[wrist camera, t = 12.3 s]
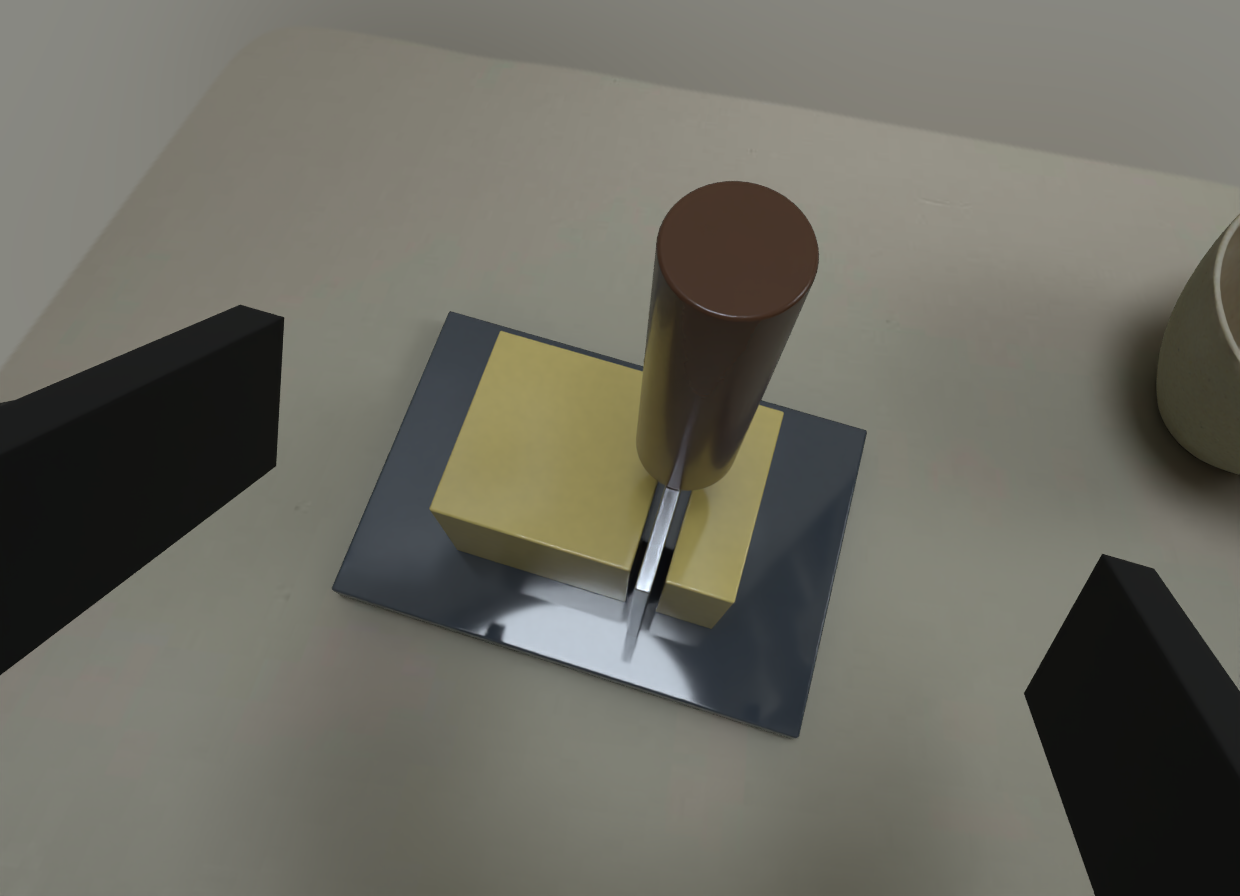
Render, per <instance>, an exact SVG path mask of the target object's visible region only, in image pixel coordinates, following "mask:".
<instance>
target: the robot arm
mask: <svg viewBox="0 0 1240 896" xmlns="http://www.w3.org/2000/svg"><path fill="white" fill-rule="evenodd" d="M283 330H284V317H281V316H277V315H274V314H271V313H267V312H264V311H260V310H257V309H253V308H250V307H246V306H243V305H238V306H236V307H234V308H231V309H229V310H227V311H224V312H222V313H220V314H217V315H215V316H212V317H210V318H208V319H205V320H203V321H201V322H198V323H196V324H194V325H191V326H189V327H187V328H184V329H182V330H179V331H177V332H175V333H172V334H170V335H168V336H165V337H163V338H161V339H158V340H156V341H154V342H151V343H149V344H146V345H144V346H142V347H139V348H137V349H135V350H132V351H130V352H128V353H125V354H123V355H120V356H118V357H116V358H113V359H111V360H109V361H106V362H104V363H102V364H99V365H97V366H95V367H92V368H90V369H87V370H85V371H83V372H80V373H78V374H76V375H73V376H71V377H69V378H66V379H64V380H62V381H59V382H57V383H54V384H52V385H50V386H47V387H45V388H43V389H40V390H38V391H36V392H33V393H31V394H28V395H26V396H24V397H21V398H19V399H17V400H13V401H8V402H3V403H0V675H1V674H2V673H4V672H5V671H6V670H8V669H9V668H10V667H12V666H13V665H14V664H16V663H17V662H18V661H20V660H21V659H22V658H24V657H25V656H26V655H28V654H29V653H30V652H31V651H33V650H34V649H35V648H37V647H38V646H39V645H41V644H42V643H43V642H45V641H46V640H47V639H49V638H50V637H51V636H53V635H54V634H55V633H57V632H58V631H59V630H60V629H62V628H63V627H64V626H66V625H67V624H68V623H70V622H71V621H72V620H74V619H75V618H76V617H78V616H79V615H80V614H82V613H83V612H84V611H86V610H87V609H88V608H89V607H91V606H92V605H93V604H95V603H96V602H97V601H99V600H100V599H101V598H103V597H104V596H105V595H107V594H108V593H109V592H111V591H112V590H113V589H115V588H116V587H117V586H118V585H120V584H121V583H122V582H124V581H125V580H126V579H128V578H129V577H130V576H132V575H133V574H134V573H136V572H137V571H138V570H140V569H141V568H142V567H144V566H145V565H146V564H147V563H149V562H150V561H151V560H153V559H154V558H155V557H157V556H158V555H159V554H161V553H162V552H163V551H165V550H166V549H167V548H169V547H170V546H171V545H173V544H174V543H175V542H177V541H178V540H179V539H180V538H182V537H183V536H184V535H186V534H187V533H188V532H190V531H191V530H192V529H194V528H195V527H196V526H198V525H199V524H200V523H202V522H203V521H204V520H206V519H207V518H208V517H209V516H211V515H212V514H213V513H215V512H216V511H217V510H219V509H220V508H221V507H223V506H224V505H225V504H227V503H228V502H229V501H231V500H232V499H233V498H235V497H236V496H237V495H238V494H240V493H241V492H242V491H244V490H245V489H246V488H248V487H249V486H250V485H252V484H253V483H254V482H256V481H257V480H258V479H260V478H261V477H262V476H264V475H265V474H266V473H267V472H269V471H270V470H271V469H273V468H274V467H275V466H276V458H277V440H278V421H279V403H280V385H281V367H282V349H283ZM1024 695H1025V698H1026V700H1027V703H1028V706H1029V709H1030V712H1031V715H1032V717H1033V720H1034V723H1035V726H1036V729H1037V732H1038V734H1039V737H1040V740H1041V743H1042V746H1043V749H1044V752H1045V754H1046V757H1047V760H1048V763H1049V766H1050V769H1051V771H1052V774H1053V777H1054V780H1055V783H1056V786H1057V788H1058V791H1059V794H1060V797H1061V800H1062V803H1063V806H1064V808H1065V811H1066V814H1067V817H1068V820H1069V823H1070V825H1071V828H1072V831H1073V834H1074V837H1075V840H1076V842H1077V845H1078V848H1079V851H1080V854H1081V857H1082V860H1083V862H1084V865H1085V868H1086V871H1087V874H1088V877H1089V879H1090V882H1091V885H1092V888H1093V891H1094V894H1095V896H1240V691H1239V690H1238V688H1237V687H1236V685H1235V684H1234V683H1233V681H1232V680H1231V678H1230V677H1229V675H1228V674H1227V673H1226V671H1225V670H1224V668H1223V667H1222V665H1221V664H1220V663H1219V661H1218V660H1217V658H1216V657H1215V655H1214V654H1213V652H1212V651H1211V650H1210V648H1209V647H1208V645H1207V644H1206V642H1205V641H1204V640H1203V638H1202V637H1201V635H1200V634H1199V632H1198V631H1197V630H1196V628H1195V627H1194V625H1193V624H1192V622H1191V621H1190V620H1189V618H1188V617H1187V615H1186V614H1185V612H1184V611H1183V609H1182V608H1181V607H1180V605H1179V604H1178V602H1177V601H1176V599H1175V598H1174V597H1173V595H1172V594H1171V592H1170V591H1169V589H1168V588H1167V587H1166V585H1165V584H1164V582H1163V581H1162V579H1161V578H1160V577H1159V575H1158V574H1157V572H1156V571H1155V569H1153V568H1150V567H1146V566H1143V565H1139V564H1136V563H1132V562H1129V561H1125V560H1122V559H1118V558H1115V557H1111V556H1108V555H1105V554H1102V555H1101V557H1100V559H1099V561H1098V562H1097V564H1096V566H1095V568H1094V569H1093V571H1092V573H1091V575H1090V577H1089V578H1088V580H1087V582H1086V584H1085V586H1084V587H1083V589H1082V591H1081V593H1080V594H1079V596H1078V598H1077V600H1076V602H1075V603H1074V605H1073V607H1072V609H1071V610H1070V612H1069V614H1068V616H1067V618H1066V619H1065V621H1064V623H1063V625H1062V627H1061V628H1060V630H1059V632H1058V634H1057V635H1056V637H1055V639H1054V641H1053V643H1052V644H1051V646H1050V648H1049V650H1048V651H1047V653H1046V655H1045V657H1044V659H1043V660H1042V662H1041V664H1040V666H1039V668H1038V669H1037V671H1036V673H1035V675H1034V676H1033V678H1032V680H1031V682H1030V684H1029V685H1028V687H1027V689H1026V691H1025V692H1024Z"/></svg>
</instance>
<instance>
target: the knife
mask: <svg viewBox="0 0 1240 896" xmlns="http://www.w3.org/2000/svg"><path fill="white" fill-rule="evenodd" d="M818 263H819V251H818V244H817V240H816V236H815V233H814V231H813V229H812V226H811V224H810V223H809V221H808V219H807V218H806V216H805V215H804V214H803V213H802V211H801V210H800V209H799V208H798V207H797V206H796V205H795V204H794V203H793V202H791V201H790V200H789V199H787V198H786V197H785V196H783V195H781V194H780V193H778V192H776V191H774V190H772V189H770V188H767V187H764V186H761V185H758V184H754V183H749V182H741V181H725V182H717V183H713V184H709V185H706V186H703V187H700V188H698V189H696V190H694V191H692V192H690V193H689V194H687V195H686V196H684V197H683V198H682V199H680V200H679V201H678V202H677V203H676V204H675V205H674V206H673V207H672V208H671V209H670V211H669V212H668V213H667V215H666V216H665V218H664V220H663V222H662V224H661V226H660V229H659V232H658V236H657V243H656V253H655V262H654V272H653V281H652V291H651V300H650V310H649V320H648V329H647V339H646V348H645V358H644V367H643V377H642V386H641V396H640V405H639V415H638V424H637V434H636V448H637V453H638V456H639V459H640V461H641V463H642V465H643V467H644V468H645V470H646V471H647V472H648V473H649V474H650V475H651V476H652V477H653V478H654V479H655V480H657V481H658V482H660V483H661V484H663V485H665V489H664V492H663V495H662V498H661V502H660V505H659V508H658V512H657V515H656V518H655V522H654V525H653V528H652V531H651V535H650V538H649V541H648V545H647V548H646V551H645V555H644V558H643V561H642V564H641V568H640V571H639V574H638V578H637V581H636V584H635V588H634V593H633V598H632V604H631V609H630V614H629V620H628V625H627V630H626V634H627V635H630V636H633V637H638V634H639V630H640V627H641V624H642V620H643V617H644V614H645V610H646V607H647V603H648V600H649V597H650V593H651V590H652V587H653V583H654V580H655V576H656V573H657V570H658V566H659V563H660V560H661V556H662V553H663V549H664V546H665V543H666V539H667V536H668V533H669V529H670V526H671V522H672V519H673V516H674V512H675V509H676V505H677V502H678V499H679V495H680V492H681V490H685V491H692V490H700V489H703V488H706V487H709V486H711V485H713V484H715V483H716V482H718V481H719V480H720V479H722V478H723V477H724V476H725V475H726V474H727V473H728V471H729V470H730V468H731V467H732V465H733V463H734V461H735V458H736V456H737V454H738V452H739V449H740V447H741V445H742V443H743V440H744V438H745V436H746V433H747V431H748V429H749V427H750V424H751V422H752V420H753V418H754V415H755V413H756V411H757V409H758V406H759V404H760V402H761V399H762V397H763V395H764V393H765V390H766V388H767V386H768V384H769V381H770V379H771V377H772V375H773V372H774V370H775V368H776V365H777V363H778V361H779V359H780V356H781V354H782V352H783V350H784V347H785V345H786V343H787V341H788V338H789V336H790V334H791V331H792V329H793V327H794V325H795V322H796V320H797V318H798V316H799V313H800V311H801V309H802V307H803V304H804V302H805V300H806V297H807V295H808V293H809V291H810V288H811V286H812V284H813V282H814V279H815V276H816V273H817V269H818Z"/></svg>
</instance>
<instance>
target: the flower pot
mask: <svg viewBox="0 0 1240 896" xmlns="http://www.w3.org/2000/svg"><path fill="white" fill-rule="evenodd" d="M1156 391H1157V402H1158V407H1159V411H1160V414H1161V417H1162V419H1163V421H1164V423H1165V425H1166V427H1167V428H1168V430H1169V431H1170V433H1171V434H1172V435H1173V437H1174V438H1175V439H1176V440H1177V442H1178V443H1179V444H1180V445H1181V446H1182V447H1184V448H1185V449H1186V450H1187V451H1188V452H1190V453H1191V454H1192V455H1194V456H1195V457H1197V458H1198V459H1200V460H1202V461H1204V462H1206V463H1208V464H1210V465H1212V466H1215V467H1217V468H1220V469H1223V470H1226V471H1229V472H1232V473H1235V474H1239V475H1240V214H1239V215H1238V216H1237V217H1236V218H1235V219H1234V220H1233V222H1232V223H1231V224H1230V225H1229V226H1228V227H1227V228H1226V229H1225V231H1224V232H1223V233H1222V234H1221V235H1220V237H1219V238H1218V239H1217V240H1216V241H1215V243H1214V244H1213V245H1212V247H1211V248H1210V249H1209V251H1208V252H1207V253H1206V255H1205V256H1204V258H1203V259H1202V260H1201V262H1200V263H1199V265H1198V266H1197V268H1196V269H1195V271H1194V273H1193V274H1192V276H1191V277H1190V279H1189V280H1188V282H1187V284H1186V286H1185V288H1184V290H1183V291H1182V293H1181V295H1180V297H1179V299H1178V301H1177V303H1176V305H1175V307H1174V310H1173V312H1172V314H1171V317H1170V320H1169V322H1168V325H1167V327H1166V330H1165V334H1164V337H1163V341H1162V344H1161V349H1160V354H1159V359H1158V368H1157V381H1156Z"/></svg>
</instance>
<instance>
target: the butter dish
mask: <svg viewBox="0 0 1240 896" xmlns="http://www.w3.org/2000/svg"><path fill="white" fill-rule="evenodd" d="M642 377H643V366H640V365H636V364H633V363H629V362H626V361H622V360H619V359H615V358H612V357H608V356H605V355H601V354H598V353H594V352H591V351H587V350H584V349H580V348H577V347H573V346H570V345H566V344H563V343H559V342H556V341H552V340H549V339H545V338H542V337H538V336H535V335H532V334H528V333H525V332H521V331H518V330H514V329H511V328H507V327H504V326H500V325H497V324H493V323H490V322H486V321H483V320H479V319H476V318H472V317H469V316H465V315H462V314H458V313H455V312H451V311H450V312H449V313H448V316H447V318H446V320H445V323H444V325H443V327H442V330H441V332H440V334H439V337H438V339H437V342H436V344H435V346H434V349H433V351H432V353H431V356H430V358H429V360H428V363H427V365H426V367H425V370H424V372H423V375H422V377H421V379H420V382H419V384H418V386H417V389H416V391H415V393H414V396H413V398H412V400H411V403H410V405H409V407H408V410H407V412H406V415H405V417H404V419H403V422H402V424H401V426H400V429H399V431H398V433H397V436H396V438H395V440H394V443H393V445H392V448H391V450H390V452H389V455H388V457H387V459H386V462H385V464H384V466H383V469H382V471H381V473H380V476H379V478H378V480H377V483H376V485H375V488H374V490H373V492H372V495H371V497H370V499H369V502H368V504H367V506H366V509H365V511H364V513H363V516H362V518H361V521H360V523H359V525H358V528H357V530H356V532H355V535H354V537H353V539H352V542H351V544H350V546H349V549H348V551H347V554H346V556H345V558H344V561H343V563H342V565H341V568H340V570H339V572H338V575H337V577H336V579H335V582H334V584H333V586H332V590H333V591H334V592H336V593H338V594H339V595H341V596H344V597H347V598H350V599H354V600H357V601H360V602H363V603H366V604H369V605H372V606H375V607H379V608H382V609H385V610H388V611H391V612H394V613H397V614H401V615H404V616H407V617H410V618H413V619H416V620H419V621H422V622H426V623H429V624H432V625H435V626H438V627H441V628H444V629H448V630H451V631H454V632H457V633H460V634H463V635H466V636H469V637H473V638H476V639H479V640H482V641H485V642H488V643H491V644H495V645H498V646H501V647H504V648H507V649H510V650H513V651H516V652H520V653H523V654H526V655H529V656H532V657H535V658H538V659H542V660H545V661H548V662H551V663H554V664H557V665H560V666H563V667H567V668H570V669H573V670H576V671H579V672H582V673H585V674H589V675H592V676H595V677H598V678H601V679H604V680H607V681H610V682H614V683H617V684H620V685H623V686H626V687H629V688H632V689H636V690H639V691H642V692H645V693H648V694H651V695H654V696H657V697H661V698H664V699H667V700H670V701H673V702H676V703H679V704H683V705H686V706H689V707H692V708H695V709H698V710H701V711H704V712H708V713H711V714H714V715H717V716H720V717H723V718H726V719H730V720H733V721H736V722H739V723H742V724H745V725H748V726H751V727H755V728H758V729H761V730H764V731H767V732H770V733H773V734H777V735H780V736H783V737H786V738H789V739H794V738H798V737H799V734H800V729H801V725H802V720H803V716H804V712H805V707H806V703H807V698H808V694H809V689H810V685H811V680H812V676H813V671H814V667H815V662H816V658H817V653H818V649H819V645H820V640H821V636H822V631H823V627H824V622H825V618H826V613H827V609H828V604H829V600H830V595H831V591H832V586H833V582H834V577H835V573H836V569H837V564H838V560H839V555H840V551H841V546H842V542H843V537H844V533H845V528H846V524H847V519H848V515H849V510H850V506H851V501H852V497H853V493H854V488H855V484H856V479H857V475H858V470H859V466H860V461H861V457H862V452H863V448H864V443H865V439H866V434H867V431H866V430H863V429H859V428H856V427H852V426H849V425H845V424H842V423H838V422H835V421H831V420H828V419H824V418H821V417H817V416H814V415H810V414H807V413H804V412H800V411H797V410H793V409H790V408H786V407H783V406H779V405H776V404H772V403H769V402H765V401H762V400H761V402H760V404H759V406H758V409H757V411H756V413H755V415H754V418H753V420H752V422H751V424H750V427H749V429H748V431H747V433H746V436H745V438H744V440H743V443H742V445H741V447H740V449H739V452H738V454H737V456H736V458H735V461H734V463H733V465H732V467H731V468H730V470H729V471H728V473H727V474H726V475H725V476H724V477H723V478H722V479H720V480H719V481H718V482H716V483H715V484H713V485H711V486H709V487H706V488H703V489H700V490H692V491H685V490H681V492H680V495H679V499H678V502H677V505H676V509H675V512H674V516H673V519H672V522H671V526H670V529H669V533H668V536H667V539H666V543H665V546H664V549H663V553H662V556H661V560H660V563H659V566H658V570H657V573H656V576H655V580H654V583H653V587H652V590H651V593H650V597H649V600H648V603H647V607H646V610H645V614H644V617H643V620H642V624H641V627H640V630H639V634H638V637H633V636H630V635H627V634H626V630H627V625H628V620H629V614H630V609H631V604H632V598H633V593H634V588H635V584H636V581H637V578H638V574H639V571H640V568H641V564H642V561H643V558H644V555H645V551H646V548H647V545H648V541H649V538H650V535H651V531H652V528H653V525H654V522H655V518H656V515H657V512H658V508H659V505H660V502H661V498H662V495H663V492H664V489H665V485H663V484H661V483H660V482H658V481H657V480H655V479H654V478H653V477H652V476H651V475H650V474H649V473H648V472H647V471H646V470H645V468H644V467H643V465H642V463H641V461H640V459H639V456H638V453H637V448H636V434H637V424H638V415H639V405H640V396H641V386H642Z"/></svg>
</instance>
